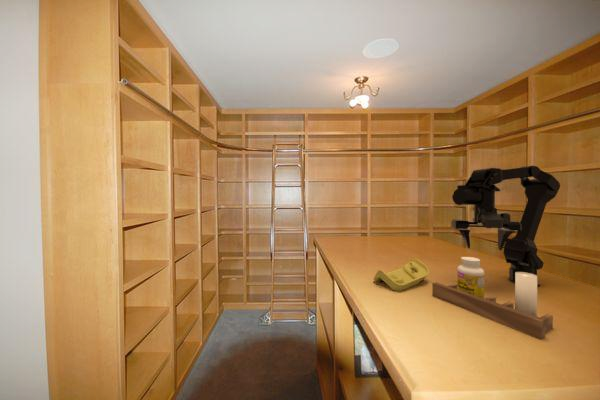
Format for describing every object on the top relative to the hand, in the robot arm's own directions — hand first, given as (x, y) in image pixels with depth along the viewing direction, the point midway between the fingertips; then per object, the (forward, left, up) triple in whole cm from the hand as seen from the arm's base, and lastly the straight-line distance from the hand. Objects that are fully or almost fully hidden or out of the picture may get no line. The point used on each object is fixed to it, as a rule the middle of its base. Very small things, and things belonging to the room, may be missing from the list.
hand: (484, 249), depth 82 cm
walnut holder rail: (+7, +20, -13) cm, 25 cm away
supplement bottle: (+9, +15, -13) cm, 22 cm away
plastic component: (+26, +4, -13) cm, 30 cm away
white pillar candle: (0, +24, -13) cm, 28 cm away
